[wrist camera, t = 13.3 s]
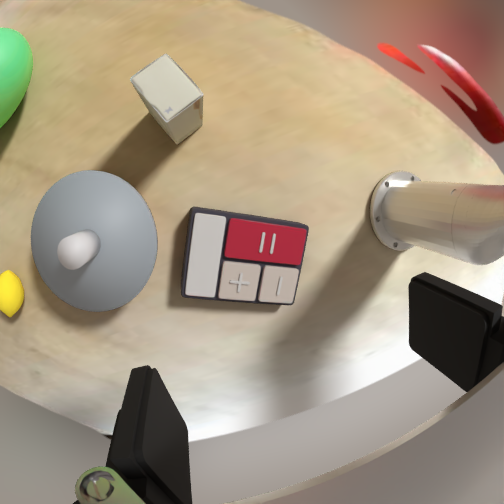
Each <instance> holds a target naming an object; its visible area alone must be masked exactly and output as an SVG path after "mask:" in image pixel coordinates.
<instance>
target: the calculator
mask: <svg viewBox="0 0 504 504" xmlns="http://www.w3.org/2000/svg"><path fill="white" fill-rule="evenodd" d="M308 230H309V227H308V226H307V225H305V224H301V223H298V222H292V221H286V220H280V219H274V218H267V217H261V216H254V215H247V214H241V213H234V212H227V211H221V210H214V209H207V208H200V207H192V208H191V209H190V215H189V222H188V230H187V237H186V245H185V253H184V261H183V270H182V279H181V295H182V296H183V297H186V298H197V299H208V300H219V301H232V302H245V303H260V304H276V305H292V304H293V303H294V300H295V295H296V290H297V286H298V281H299V276H300V271H301V266H302V261H303V256H304V251H305V246H306V241H307V236H308Z"/></svg>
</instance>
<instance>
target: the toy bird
mask: <svg viewBox="0 0 504 504" xmlns="http://www.w3.org/2000/svg"><path fill="white" fill-rule="evenodd" d="M32 68H33V58H32V52H31V48H30V46H29V44H28V42H27V40H26V39H25V38H24V36H23V35H21V34H20V33H19V32H17V31H15V30H13V29H9V28H0V128H1V127H2V126H3V125H4V124H5V123H6V122H7V121H8V119H9V118H10V117H11V116H12V114H13V113H14V112H15V110H16V109H17V107H18V106H19V104H20V102H21V100H22V99H23V97H24V95H25V93H26V90H27V88H28V85H29V82H30V79H31V75H32Z"/></svg>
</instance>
